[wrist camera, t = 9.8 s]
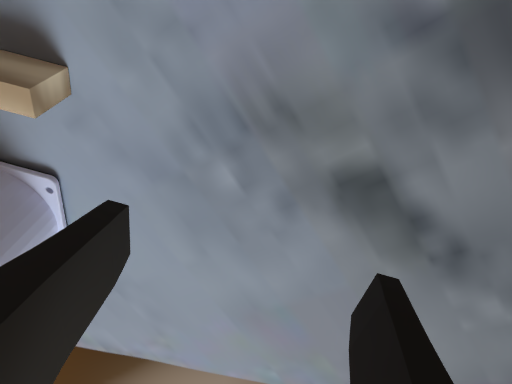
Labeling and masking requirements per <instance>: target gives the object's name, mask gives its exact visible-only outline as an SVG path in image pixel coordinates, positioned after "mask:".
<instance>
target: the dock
mask: <svg viewBox="0 0 512 384" xmlns="http://www.w3.org/2000/svg"><path fill="white" fill-rule="evenodd" d="M69 95H71V88H70V81H69V73H68V67H65V66H61V65H57V64H53V63H49V62H46V61H42V60H38V59H34V58H30V57H27V56H23V55H19V54H15V53H11V52H8V51H4V50H0V109H2V110H5V111H9V112H13V113H17V114H20V115H24V116H28V117H32V118H37V117H38V116H40V115H41V114H43V113H44V112H46V111H47V110H49V109H50V108H52V107H53V106H55V105H56V104H58V103H59V102H61V101H62V100H64V99H65V98H67V97H68V96H69Z"/></svg>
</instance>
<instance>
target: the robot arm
mask: <svg viewBox="0 0 512 384" xmlns="http://www.w3.org/2000/svg"><path fill="white" fill-rule="evenodd" d="M129 255H130V230H129V205H125V204H121V203H118V202H114V201H110V200H107V201H105V202H104V203H102V204H101V205H99V206H97V207H96V208H94V209H93V210H91V211H90V212H88V213H87V214H85V215H84V216H82V217H81V218H79V219H78V220H76V221H75V222H73V223H72V224H70V225H68V226H67V225H66V220H65V214H64V209H63V203H62V198H61V192H60V187H59V182H58V180H57V179H56V178H55V177H54V176H51V175H48V174H44V173H40V172H37V171H33V170H29V169H26V168H22V167H18V166H15V165H11V164H7V163H4V162H0V384H53V383H54V381H55V379H56V377H57V375H58V374H59V372H60V370H61V368H62V366H63V365H64V363H65V361H66V360H67V358H68V356H69V355H70V353H71V352H72V350H73V349H74V347H75V346H76V344H77V342H78V341H79V339H80V338H81V336H82V335H83V333H84V332H85V330H86V329H87V327H88V326H89V324H90V323H91V321H92V320H93V318H94V317H95V315H96V313H97V312H98V310H99V309H100V307H101V306H102V304H103V303H104V301H105V300H106V298H107V297H108V295H109V293H110V292H111V290H112V289H113V287H114V286H115V284H116V282H117V280H118V278H119V276H120V274H121V272H122V270H123V268H124V266H125V264H126V262H127V259H128V257H129ZM349 366H350V384H454V383H453V381H452V380H451V378H450V376H449V374H448V373H447V371H446V369H445V367H444V366H443V364H442V362H441V360H440V358H439V356H438V355H437V353H436V351H435V349H434V347H433V345H432V344H431V342H430V340H429V338H428V336H427V334H426V332H425V330H424V328H423V326H422V324H421V322H420V320H419V318H418V316H417V315H416V313H415V310H414V308H413V306H412V304H411V302H410V300H409V298H408V296H407V294H406V292H405V290H404V288H403V286H402V284H401V283H400V281H399V279H396V278H393V277H389V276H385V275H382V274H378V273H377V274H376V276H375V278H374V279H373V281H372V283H371V284H370V286H369V287H368V289H367V291H366V292H365V294H364V295H363V297H362V299H361V300H360V302H359V303H358V305H357V307H356V308H355V310H354V312H353V313H352V315H351V326H350V340H349Z"/></svg>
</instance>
